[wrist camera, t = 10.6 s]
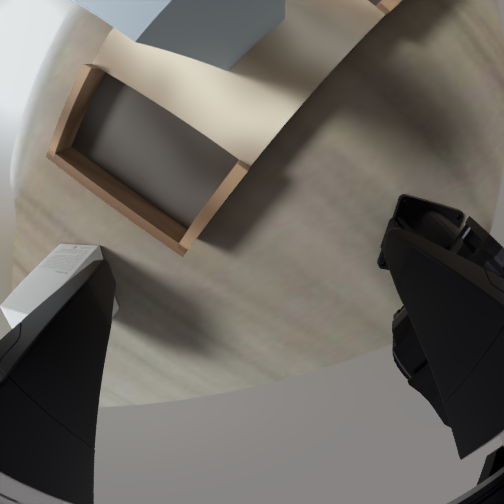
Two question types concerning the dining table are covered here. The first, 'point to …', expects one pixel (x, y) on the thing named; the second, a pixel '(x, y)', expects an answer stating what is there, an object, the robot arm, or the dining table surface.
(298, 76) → the box
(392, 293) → the dining table surface
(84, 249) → the small box
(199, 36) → the block
